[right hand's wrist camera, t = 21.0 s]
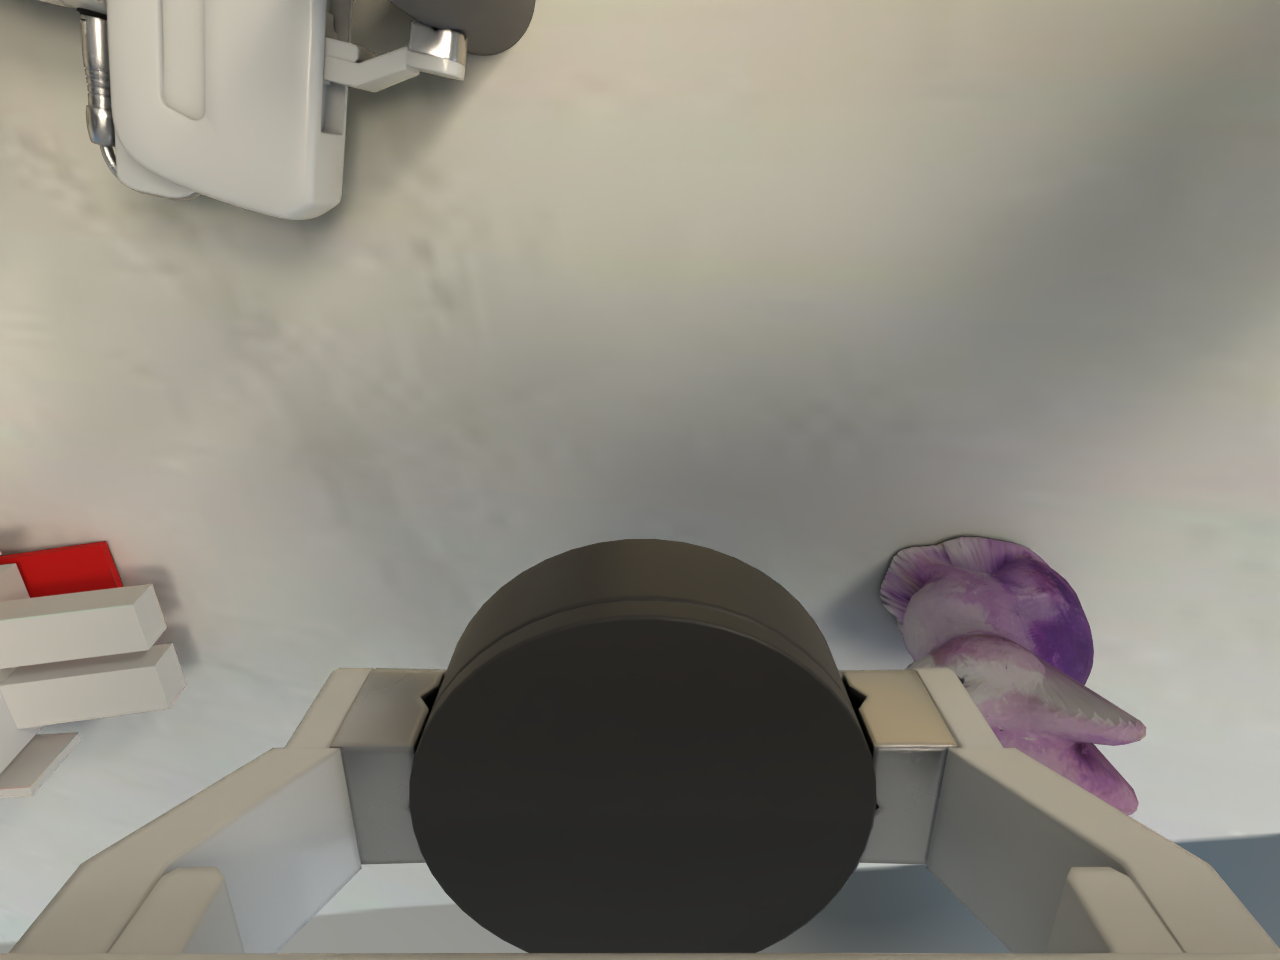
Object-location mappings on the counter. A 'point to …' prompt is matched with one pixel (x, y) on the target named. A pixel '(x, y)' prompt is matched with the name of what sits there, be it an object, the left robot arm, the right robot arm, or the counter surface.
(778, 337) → the counter surface
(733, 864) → the lid
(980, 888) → the right robot arm
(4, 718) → the toy
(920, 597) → the figurine
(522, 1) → the dark grey long cylinder
